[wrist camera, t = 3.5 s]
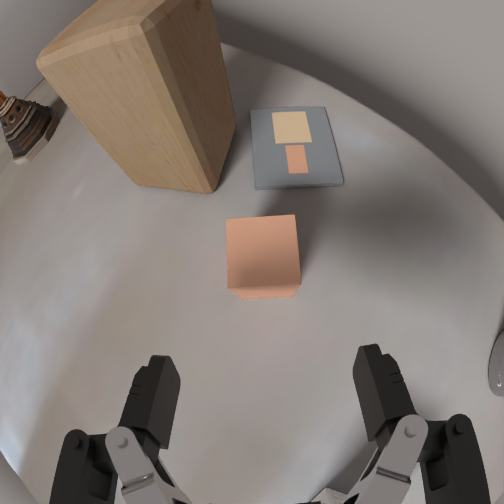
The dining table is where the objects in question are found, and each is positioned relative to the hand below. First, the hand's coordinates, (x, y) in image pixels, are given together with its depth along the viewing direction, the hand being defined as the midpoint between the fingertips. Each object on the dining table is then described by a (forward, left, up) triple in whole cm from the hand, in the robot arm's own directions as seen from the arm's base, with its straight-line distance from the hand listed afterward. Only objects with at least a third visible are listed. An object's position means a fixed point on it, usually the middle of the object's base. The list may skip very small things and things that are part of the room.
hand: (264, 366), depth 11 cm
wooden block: (+8, -20, -13) cm, 26 cm away
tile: (-4, -20, -13) cm, 25 cm away
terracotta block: (0, -6, -13) cm, 14 cm away
